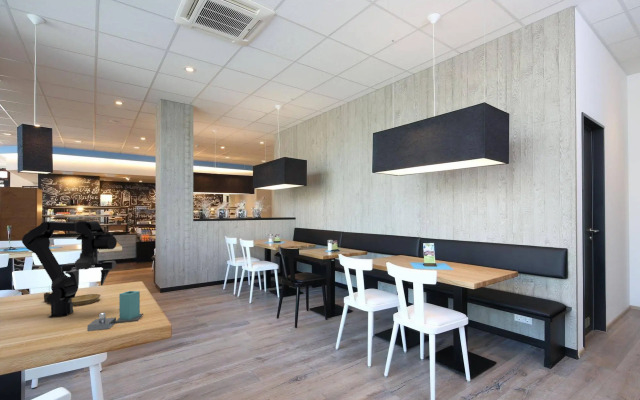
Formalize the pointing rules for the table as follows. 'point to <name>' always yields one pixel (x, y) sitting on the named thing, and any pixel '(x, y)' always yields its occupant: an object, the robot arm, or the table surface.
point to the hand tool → (46, 297)
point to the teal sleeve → (129, 305)
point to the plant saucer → (85, 299)
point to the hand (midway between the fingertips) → (89, 286)
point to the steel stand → (101, 323)
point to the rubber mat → (128, 320)
